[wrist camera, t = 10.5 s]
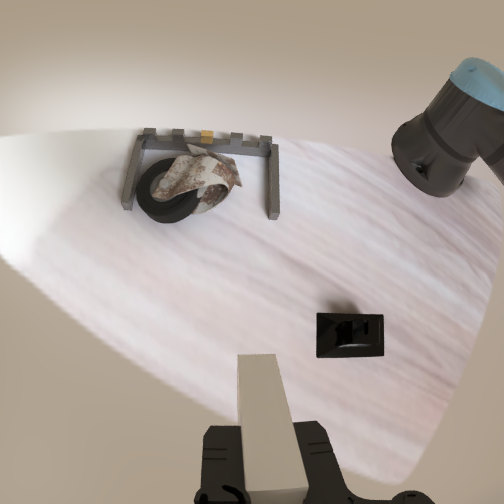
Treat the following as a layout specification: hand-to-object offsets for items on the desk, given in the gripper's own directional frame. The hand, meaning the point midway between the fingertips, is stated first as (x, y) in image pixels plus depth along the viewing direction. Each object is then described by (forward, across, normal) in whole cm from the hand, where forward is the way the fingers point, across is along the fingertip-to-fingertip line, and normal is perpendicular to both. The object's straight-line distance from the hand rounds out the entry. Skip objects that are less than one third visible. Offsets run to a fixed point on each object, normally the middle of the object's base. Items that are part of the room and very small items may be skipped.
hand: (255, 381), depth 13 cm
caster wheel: (+32, -7, +4) cm, 33 cm away
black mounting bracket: (+24, +14, -11) cm, 30 cm away
